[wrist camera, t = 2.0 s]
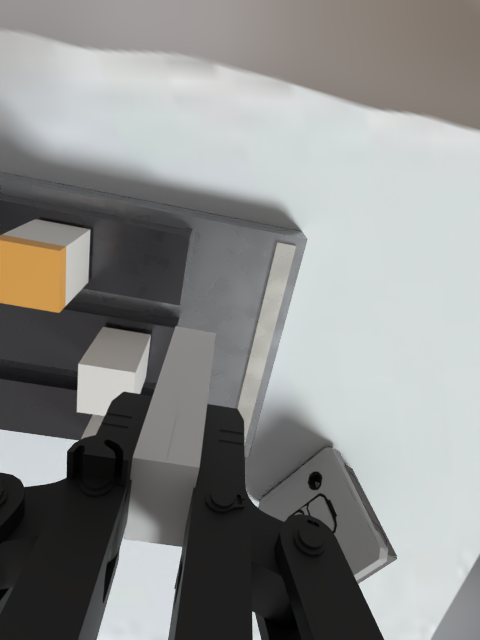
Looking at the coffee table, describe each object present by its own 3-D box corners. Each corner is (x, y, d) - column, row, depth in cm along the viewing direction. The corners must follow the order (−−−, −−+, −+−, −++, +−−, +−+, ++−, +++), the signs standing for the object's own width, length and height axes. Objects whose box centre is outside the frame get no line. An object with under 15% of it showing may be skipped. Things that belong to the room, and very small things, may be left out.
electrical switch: (329, 440, 35) (368, 546, 26) (368, 465, 36) (415, 571, 28) (255, 499, 38) (270, 611, 29) (294, 520, 39) (318, 630, 31)
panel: (-104, 388, 32) (-142, 418, 29) (-153, 141, 24) (-211, 144, 21) (247, 440, 34) (248, 472, 31) (302, 231, 27) (311, 245, 24)
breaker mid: (100, 369, 27) (76, 411, 23) (102, 326, 25) (78, 363, 21) (146, 376, 27) (130, 419, 23) (150, 334, 26) (135, 372, 22)
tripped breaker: (36, 273, 24) (-4, 302, 20) (35, 218, 23) (-8, 238, 19) (88, 282, 24) (59, 312, 20) (90, 229, 23) (59, 251, 19)
